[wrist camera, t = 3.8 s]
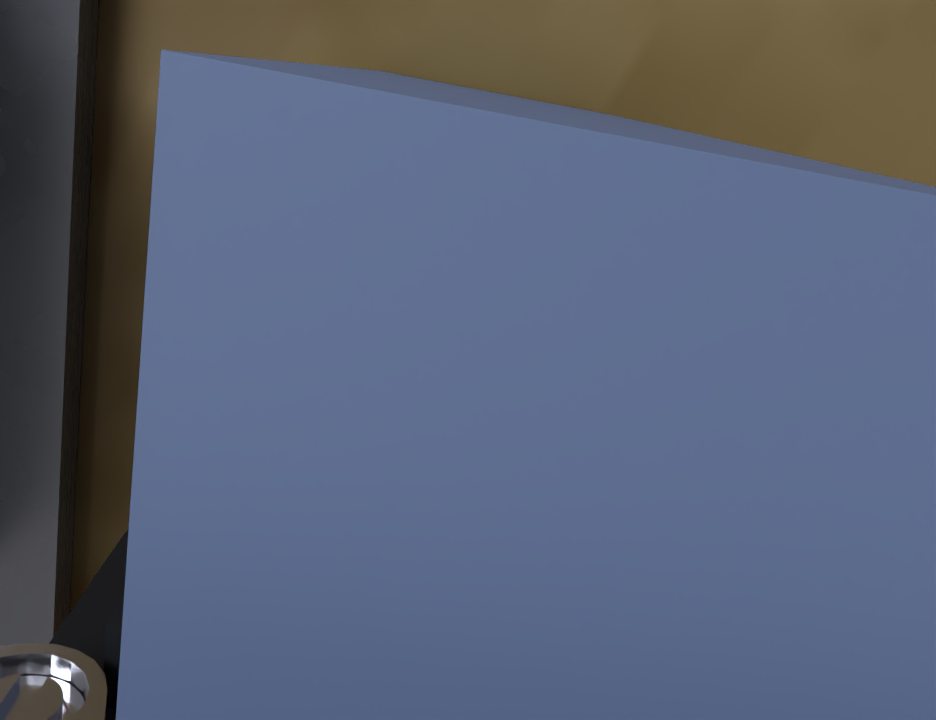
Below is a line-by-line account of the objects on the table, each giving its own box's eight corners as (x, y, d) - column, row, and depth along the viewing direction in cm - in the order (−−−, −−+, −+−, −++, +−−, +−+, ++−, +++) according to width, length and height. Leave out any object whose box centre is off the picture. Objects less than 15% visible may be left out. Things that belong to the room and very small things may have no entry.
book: (610, 114, 19) (1174, 240, 4) (503, 591, 22) (618, 1515, 8) (379, 70, 18) (162, 49, 4) (309, 564, 22) (63, 1489, 8)
